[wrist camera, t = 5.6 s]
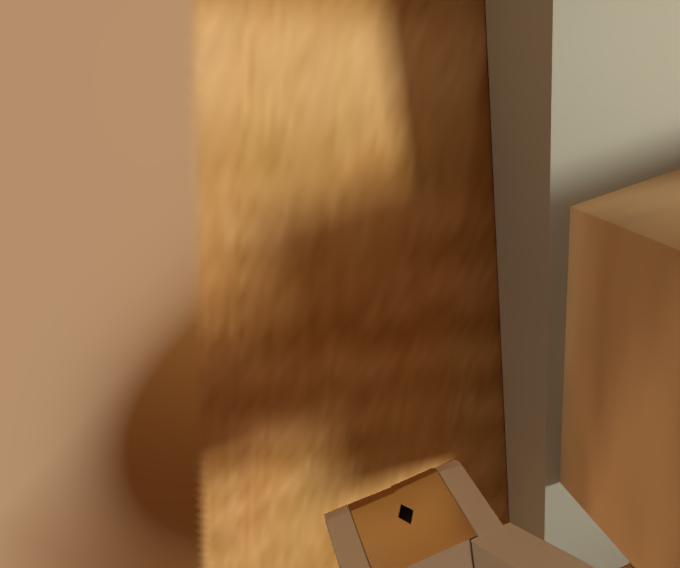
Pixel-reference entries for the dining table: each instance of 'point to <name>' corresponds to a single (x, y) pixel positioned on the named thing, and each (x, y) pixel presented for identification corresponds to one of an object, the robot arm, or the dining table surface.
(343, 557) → the robot arm
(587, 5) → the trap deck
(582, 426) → the maple block
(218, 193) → the dining table surface
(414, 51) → the dining table surface
